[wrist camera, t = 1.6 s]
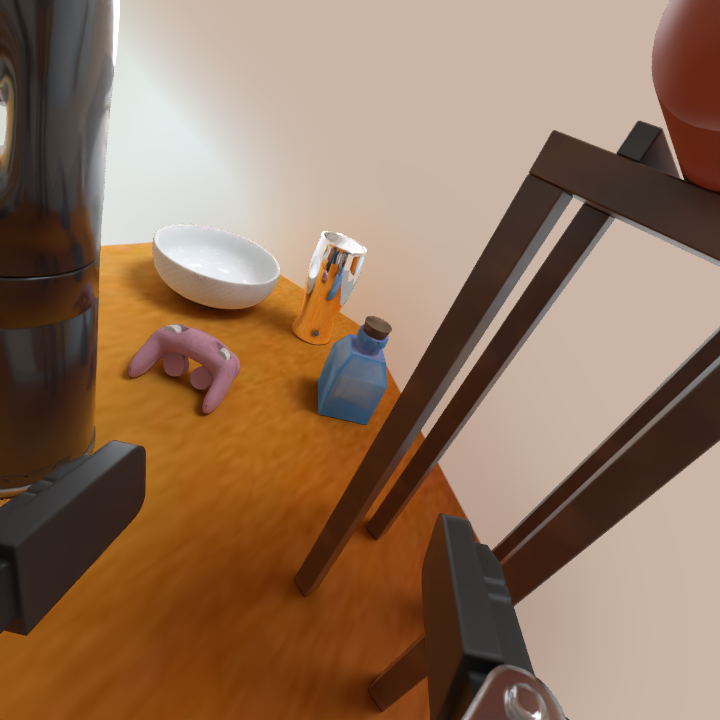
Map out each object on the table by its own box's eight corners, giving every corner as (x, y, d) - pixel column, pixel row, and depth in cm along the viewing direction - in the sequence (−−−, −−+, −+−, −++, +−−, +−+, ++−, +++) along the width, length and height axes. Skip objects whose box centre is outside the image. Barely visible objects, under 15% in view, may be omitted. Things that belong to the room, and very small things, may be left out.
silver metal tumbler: (299, 315, 63) (329, 226, 56) (337, 334, 63) (373, 248, 56) (281, 331, 57) (313, 235, 50) (323, 352, 57) (362, 259, 50)
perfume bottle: (361, 392, 53) (399, 318, 47) (366, 424, 48) (409, 346, 42) (317, 381, 51) (350, 303, 45) (318, 414, 46) (355, 330, 40)
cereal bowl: (118, 283, 52) (121, 232, 48) (199, 257, 66) (206, 217, 62) (229, 342, 51) (240, 294, 47) (287, 303, 65) (299, 264, 61)
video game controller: (226, 410, 43) (252, 353, 43) (208, 418, 39) (237, 354, 38) (146, 370, 43) (171, 313, 43) (119, 374, 39) (147, 310, 38)
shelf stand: (293, 580, 30) (571, 96, 13) (375, 519, 37) (622, 159, 21) (382, 712, 25) (977, 234, 9) (456, 614, 33) (857, 251, 16)
